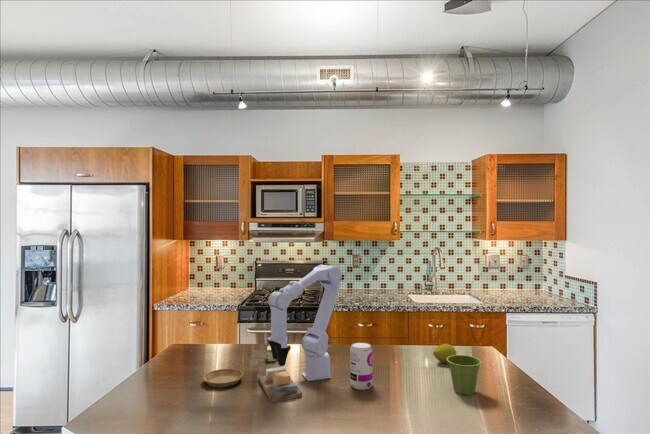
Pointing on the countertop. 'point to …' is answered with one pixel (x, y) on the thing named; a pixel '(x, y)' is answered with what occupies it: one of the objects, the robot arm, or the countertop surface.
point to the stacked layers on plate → (270, 354)
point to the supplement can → (361, 366)
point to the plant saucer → (223, 377)
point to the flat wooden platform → (279, 390)
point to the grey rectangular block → (273, 370)
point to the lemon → (444, 352)
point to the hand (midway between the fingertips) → (278, 362)
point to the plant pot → (464, 373)
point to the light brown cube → (281, 378)
